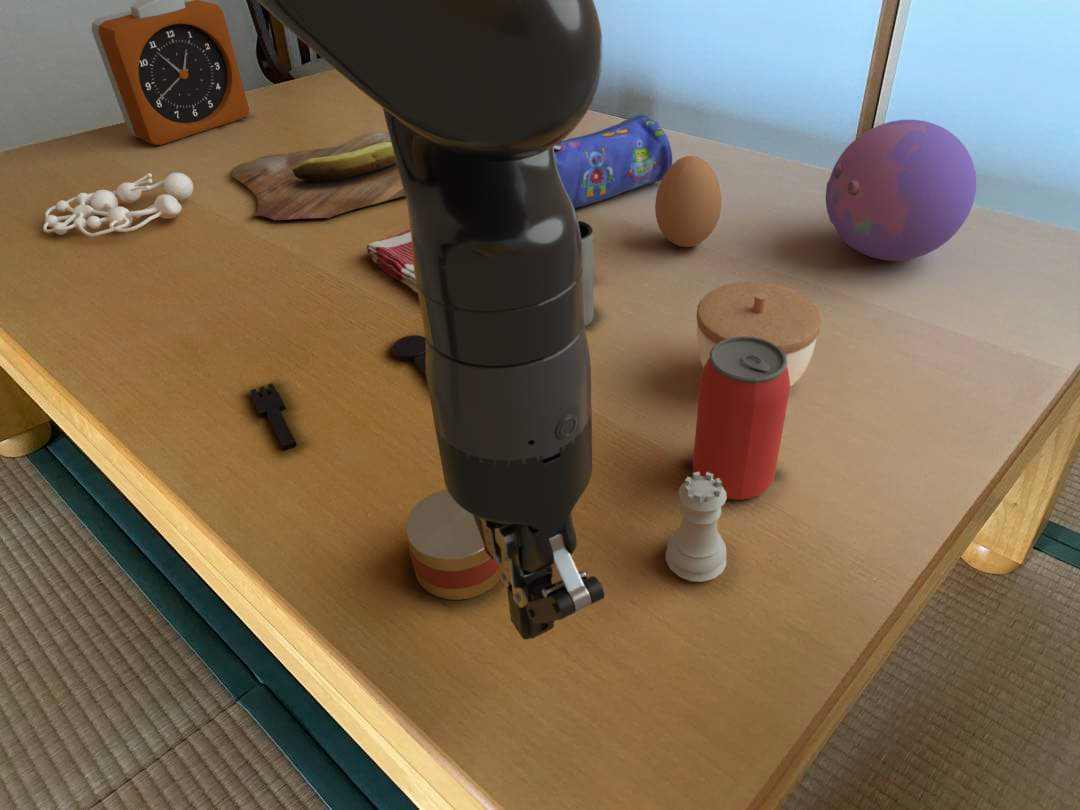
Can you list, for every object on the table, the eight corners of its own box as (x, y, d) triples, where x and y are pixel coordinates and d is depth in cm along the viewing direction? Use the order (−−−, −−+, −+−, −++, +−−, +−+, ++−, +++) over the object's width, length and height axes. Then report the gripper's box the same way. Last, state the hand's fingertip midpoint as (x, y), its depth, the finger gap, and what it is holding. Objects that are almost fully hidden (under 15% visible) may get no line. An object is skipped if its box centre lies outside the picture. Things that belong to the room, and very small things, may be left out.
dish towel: (476, 337, 85) (473, 315, 84) (363, 259, 100) (359, 239, 98) (595, 279, 93) (595, 258, 92) (474, 215, 108) (472, 196, 106)
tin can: (479, 613, 58) (473, 572, 55) (395, 582, 60) (385, 541, 58) (524, 544, 63) (520, 502, 60) (445, 517, 65) (438, 476, 63)
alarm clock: (153, 149, 133) (104, 12, 120) (129, 137, 138) (80, 5, 125) (253, 116, 143) (218, -13, 130) (227, 106, 148) (191, -19, 135)
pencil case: (535, 231, 103) (531, 158, 97) (504, 207, 109) (498, 137, 103) (677, 188, 111) (681, 118, 105) (640, 168, 117) (642, 100, 111)
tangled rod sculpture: (29, 258, 107) (13, 231, 104) (67, 202, 118) (53, 176, 115) (177, 242, 107) (164, 215, 104) (201, 188, 118) (191, 161, 115)
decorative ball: (793, 234, 99) (813, 110, 90) (904, 215, 102) (934, 92, 92) (861, 295, 88) (891, 160, 79) (984, 272, 90) (1028, 138, 81)
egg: (730, 247, 98) (740, 159, 91) (680, 266, 95) (686, 176, 88) (689, 224, 103) (695, 139, 96) (640, 241, 100) (643, 155, 93)
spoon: (462, 385, 79) (461, 379, 78) (426, 399, 78) (425, 393, 77) (421, 336, 86) (421, 331, 86) (388, 348, 85) (386, 342, 84)
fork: (303, 443, 73) (302, 438, 73) (277, 453, 72) (275, 448, 72) (275, 387, 80) (273, 382, 80) (250, 395, 79) (248, 390, 79)
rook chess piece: (653, 565, 60) (657, 488, 55) (686, 530, 63) (693, 453, 58) (705, 596, 58) (714, 518, 53) (737, 558, 61) (749, 480, 56)
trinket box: (782, 343, 82) (796, 259, 76) (827, 409, 73) (846, 321, 68) (678, 356, 81) (683, 272, 75) (711, 425, 73) (720, 337, 67)
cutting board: (266, 238, 106) (258, 210, 103) (218, 170, 125) (210, 145, 122) (505, 172, 118) (502, 146, 116) (428, 119, 137) (425, 96, 135)
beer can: (733, 516, 64) (751, 395, 56) (675, 471, 68) (683, 353, 61) (790, 479, 67) (814, 359, 59) (730, 438, 71) (745, 321, 64)
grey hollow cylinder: (560, 304, 90) (556, 217, 83) (599, 310, 88) (599, 223, 82) (544, 325, 86) (539, 237, 80) (585, 333, 85) (583, 243, 78)
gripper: (387, 359, 42) (433, 577, 53) (505, 520, 33) (531, 745, 44) (516, 314, 45) (534, 531, 55) (659, 452, 35) (647, 680, 46)
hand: (533, 625), depth 49 cm, fingers closed
